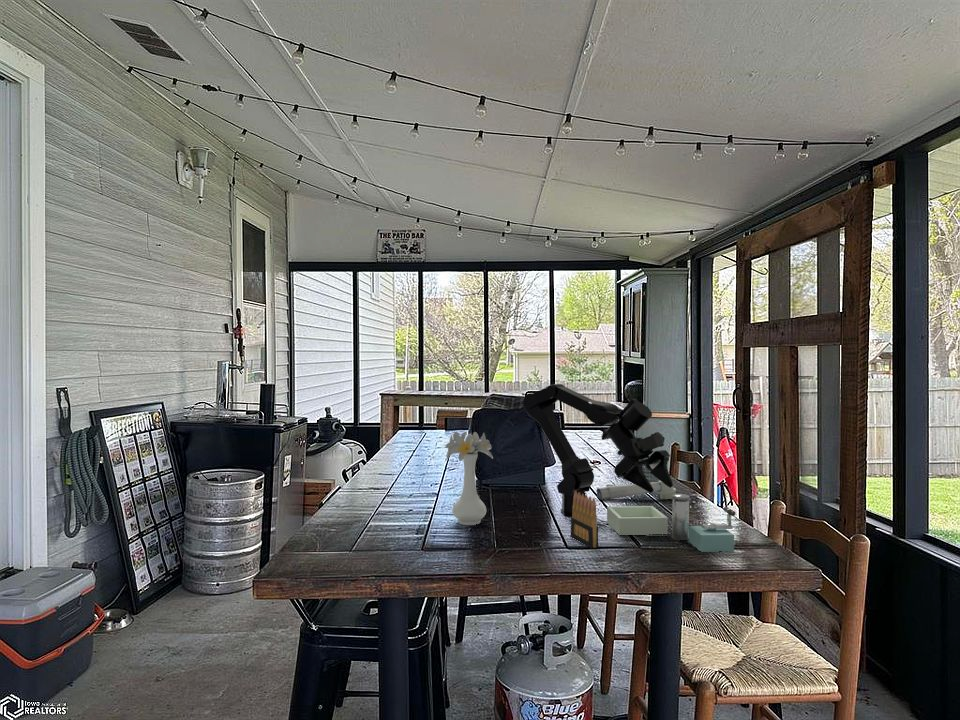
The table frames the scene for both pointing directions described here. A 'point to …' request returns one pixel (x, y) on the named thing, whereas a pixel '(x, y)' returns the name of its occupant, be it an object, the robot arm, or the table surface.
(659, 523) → the tray
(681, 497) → the pin
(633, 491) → the grey mallet
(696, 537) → the crank block
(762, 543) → the table surface
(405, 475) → the table surface
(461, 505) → the flower vase
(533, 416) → the robot arm
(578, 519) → the ammunition clip
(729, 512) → the crank handle
